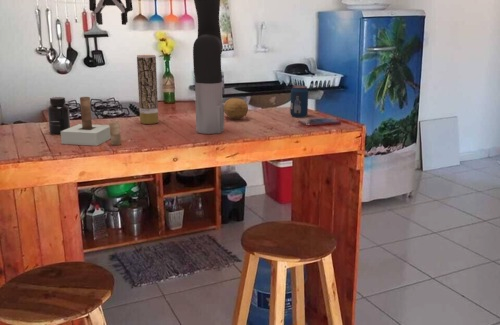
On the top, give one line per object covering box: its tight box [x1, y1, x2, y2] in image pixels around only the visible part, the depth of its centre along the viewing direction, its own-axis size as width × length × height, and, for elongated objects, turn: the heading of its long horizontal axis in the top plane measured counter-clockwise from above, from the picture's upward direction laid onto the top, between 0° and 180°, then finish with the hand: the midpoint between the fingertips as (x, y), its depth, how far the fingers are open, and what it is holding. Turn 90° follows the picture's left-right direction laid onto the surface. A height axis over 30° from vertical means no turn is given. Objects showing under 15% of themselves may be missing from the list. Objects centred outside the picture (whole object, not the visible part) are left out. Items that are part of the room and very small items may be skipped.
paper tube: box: [136, 54, 159, 125], centre depth 195 cm, size 7×7×25 cm
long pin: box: [79, 96, 93, 130], centre depth 168 cm, size 3×3×14 cm
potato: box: [223, 97, 249, 120], centre depth 206 cm, size 10×14×8 cm
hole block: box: [60, 123, 111, 147], centre depth 170 cm, size 12×12×4 cm
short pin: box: [108, 121, 122, 146], centre depth 165 cm, size 3×3×7 cm
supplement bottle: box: [47, 96, 71, 135], centre depth 180 cm, size 7×7×12 cm
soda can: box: [289, 85, 309, 119], centre depth 211 cm, size 7×7×12 cm
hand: (112, 24), depth 176 cm, fingers open, 8 cm apart
